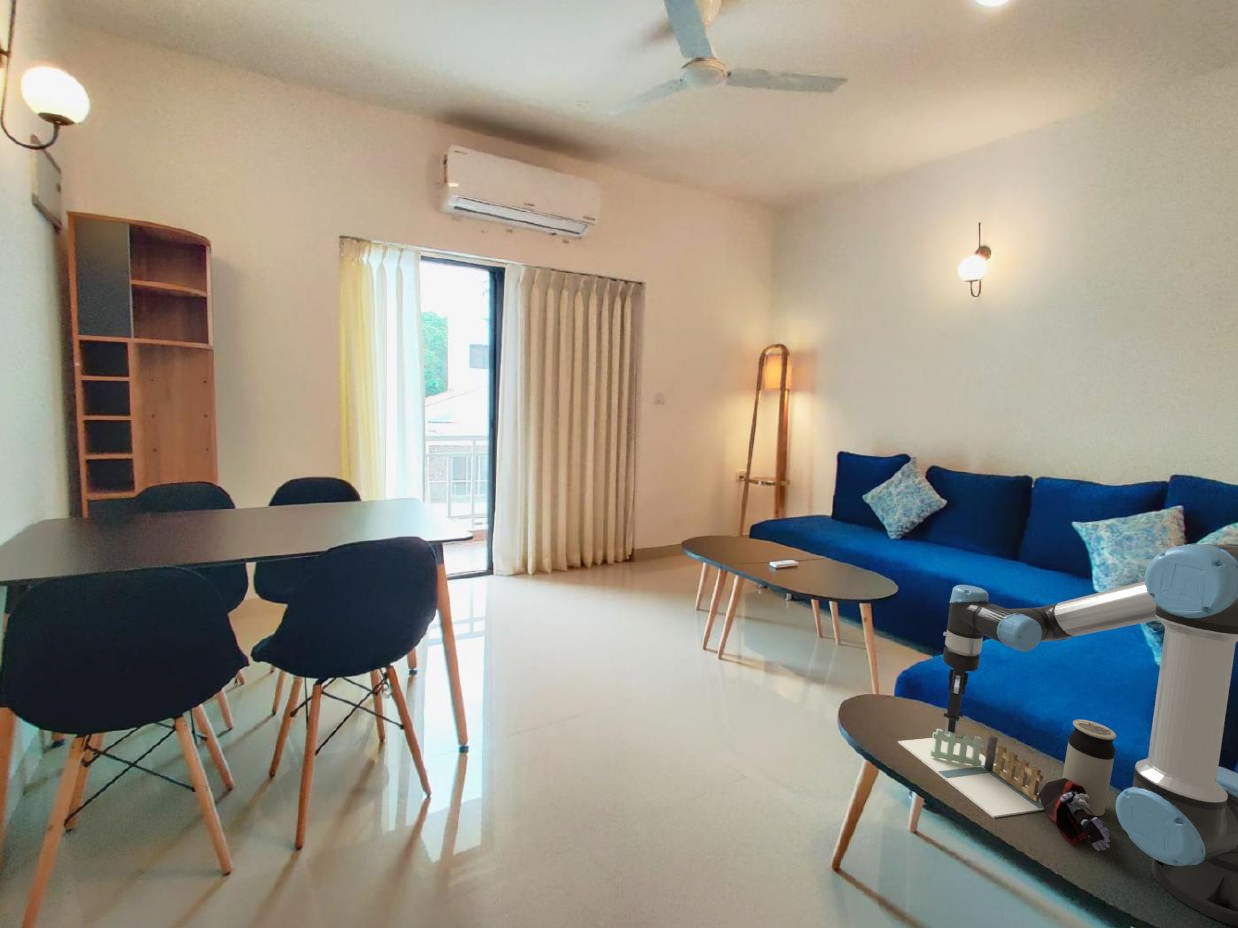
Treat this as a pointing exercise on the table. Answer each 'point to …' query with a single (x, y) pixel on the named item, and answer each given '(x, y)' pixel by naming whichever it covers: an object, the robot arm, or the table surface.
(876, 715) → the table surface
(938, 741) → the fence gate
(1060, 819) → the toy
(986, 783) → the card
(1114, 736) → the travel mug
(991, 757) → the fence fixed
